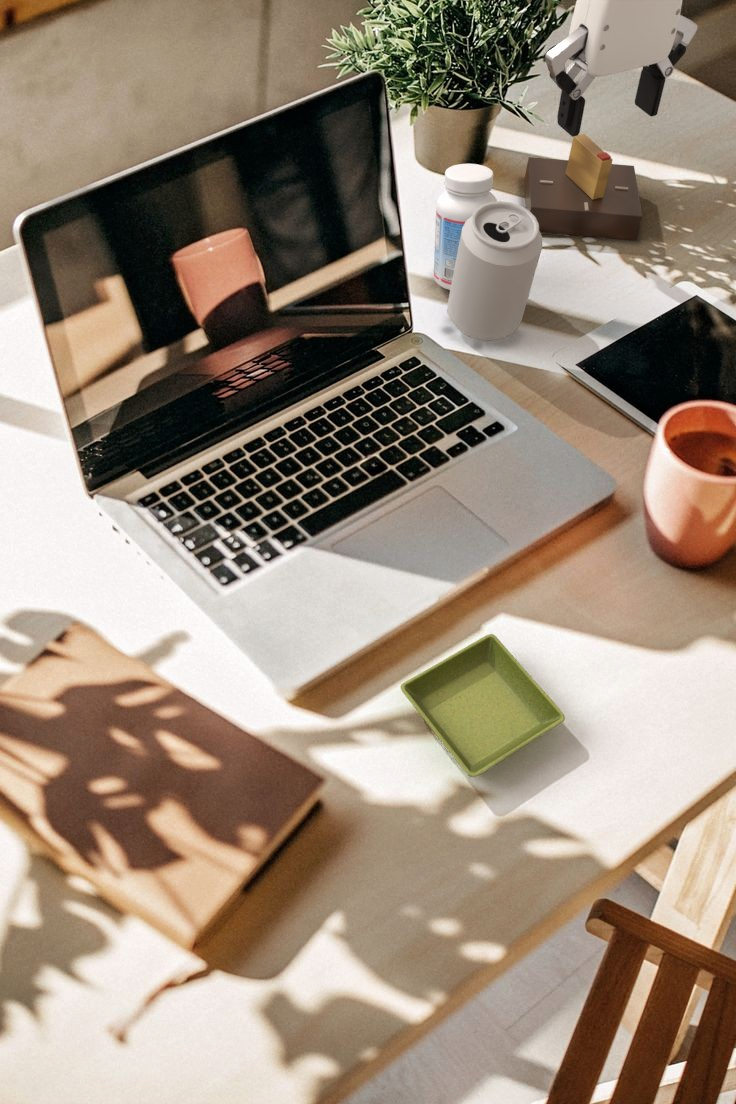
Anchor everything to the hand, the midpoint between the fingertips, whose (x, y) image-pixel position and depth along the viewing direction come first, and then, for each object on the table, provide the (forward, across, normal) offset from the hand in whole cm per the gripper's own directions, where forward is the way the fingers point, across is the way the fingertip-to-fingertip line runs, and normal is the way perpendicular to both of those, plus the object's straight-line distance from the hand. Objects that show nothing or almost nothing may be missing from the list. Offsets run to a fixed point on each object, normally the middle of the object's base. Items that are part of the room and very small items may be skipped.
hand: (606, 119), depth 108 cm
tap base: (+11, +1, -1) cm, 11 cm away
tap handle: (+8, +1, -1) cm, 8 cm away
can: (+10, +21, +12) cm, 26 cm away
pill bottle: (+10, +20, +6) cm, 23 cm away
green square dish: (+11, +43, +51) cm, 68 cm away
